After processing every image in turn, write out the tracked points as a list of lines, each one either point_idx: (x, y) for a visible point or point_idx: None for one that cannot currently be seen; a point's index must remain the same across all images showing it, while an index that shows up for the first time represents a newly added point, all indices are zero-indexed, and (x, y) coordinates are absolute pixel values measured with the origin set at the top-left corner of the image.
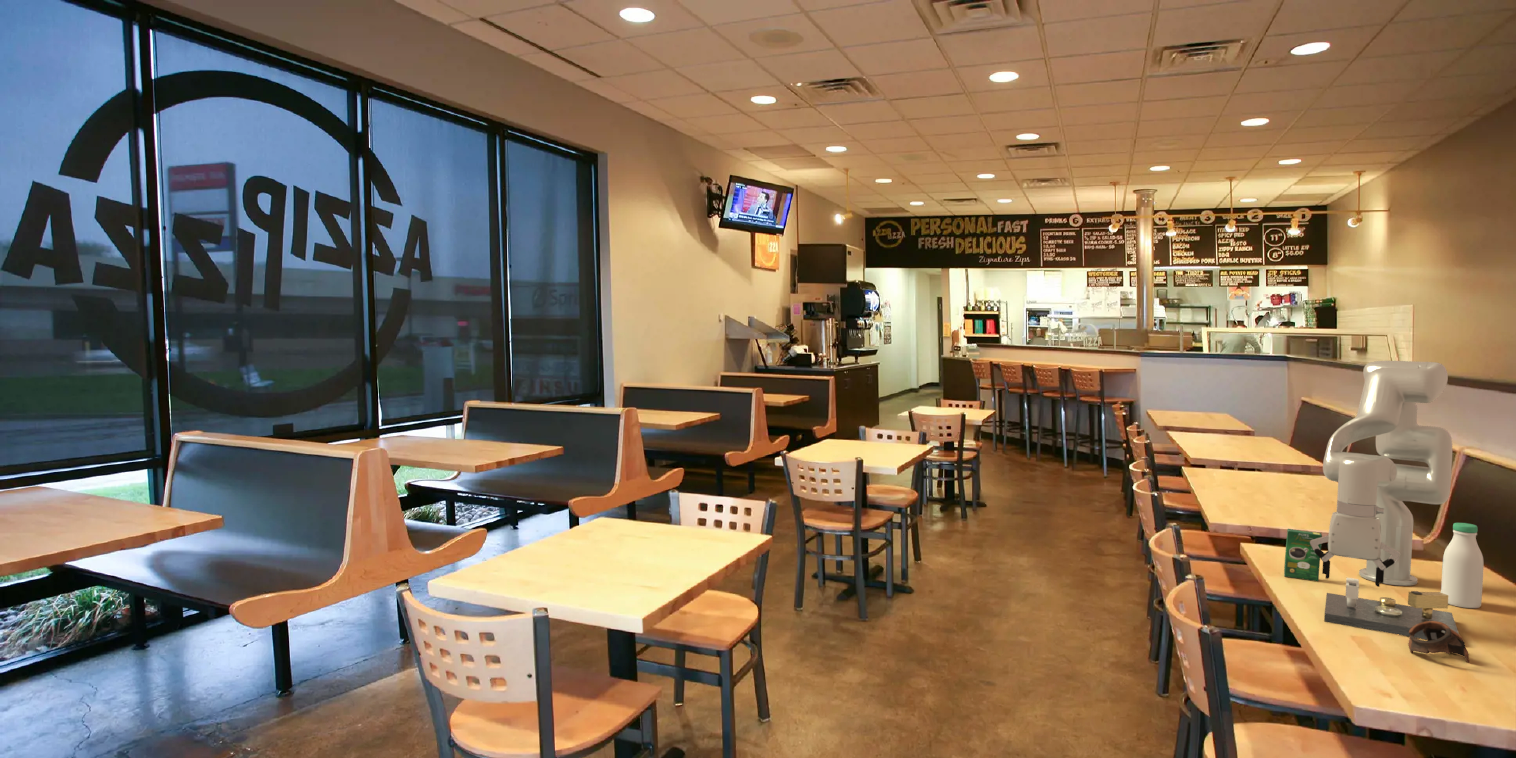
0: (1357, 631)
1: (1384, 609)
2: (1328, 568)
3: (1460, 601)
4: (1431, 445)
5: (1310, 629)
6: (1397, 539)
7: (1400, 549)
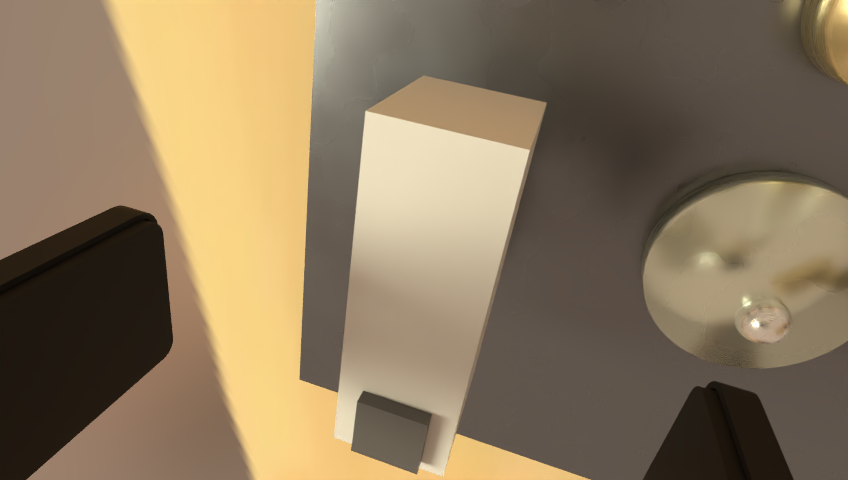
0: (458, 444)
1: (716, 292)
2: (56, 441)
3: None
4: None
5: (270, 451)
6: None
7: None
